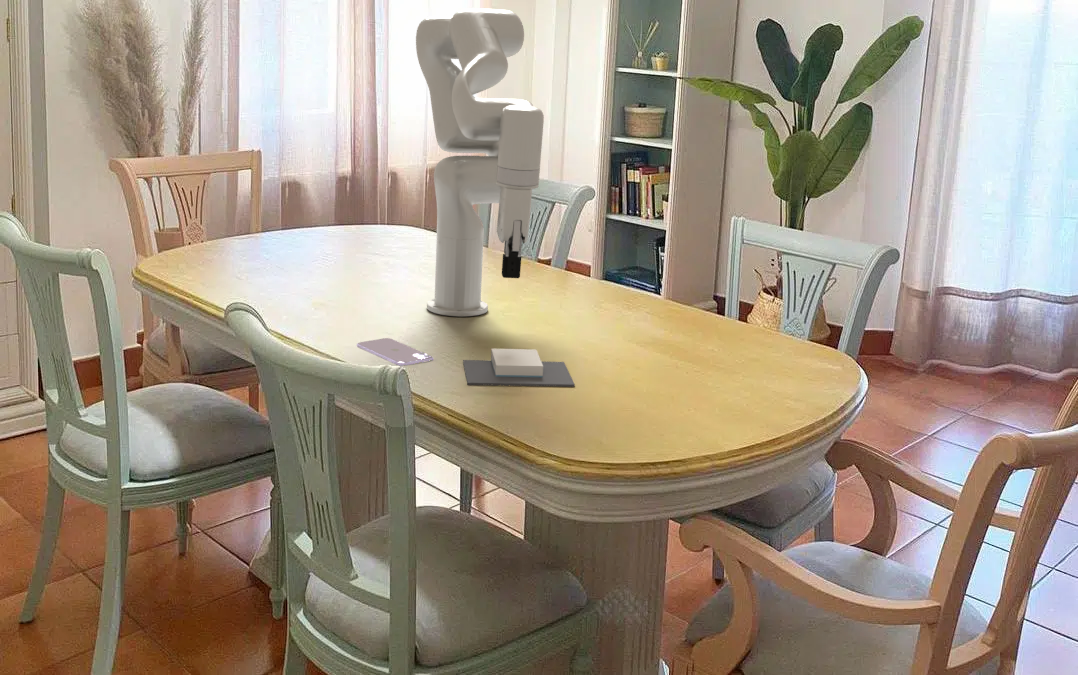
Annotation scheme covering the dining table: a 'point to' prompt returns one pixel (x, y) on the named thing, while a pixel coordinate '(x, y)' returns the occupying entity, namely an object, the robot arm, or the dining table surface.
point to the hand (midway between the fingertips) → (510, 276)
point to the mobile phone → (394, 351)
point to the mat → (485, 375)
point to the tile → (516, 363)
